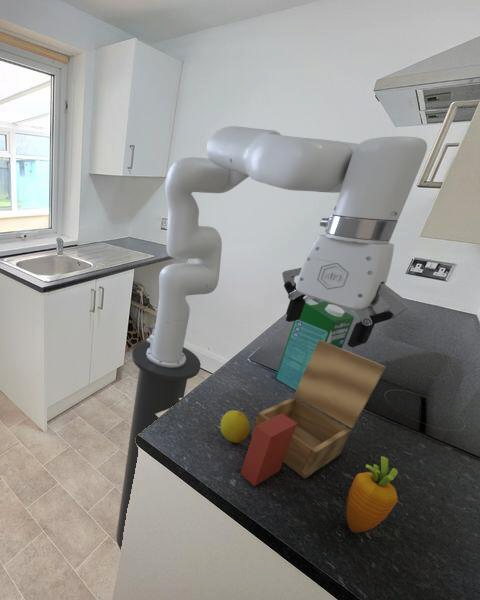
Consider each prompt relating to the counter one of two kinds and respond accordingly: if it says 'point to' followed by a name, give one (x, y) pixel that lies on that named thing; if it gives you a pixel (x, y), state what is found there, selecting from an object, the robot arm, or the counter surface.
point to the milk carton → (312, 337)
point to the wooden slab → (338, 382)
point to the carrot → (371, 497)
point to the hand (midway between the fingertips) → (321, 331)
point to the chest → (308, 436)
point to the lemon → (234, 426)
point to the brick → (268, 448)
